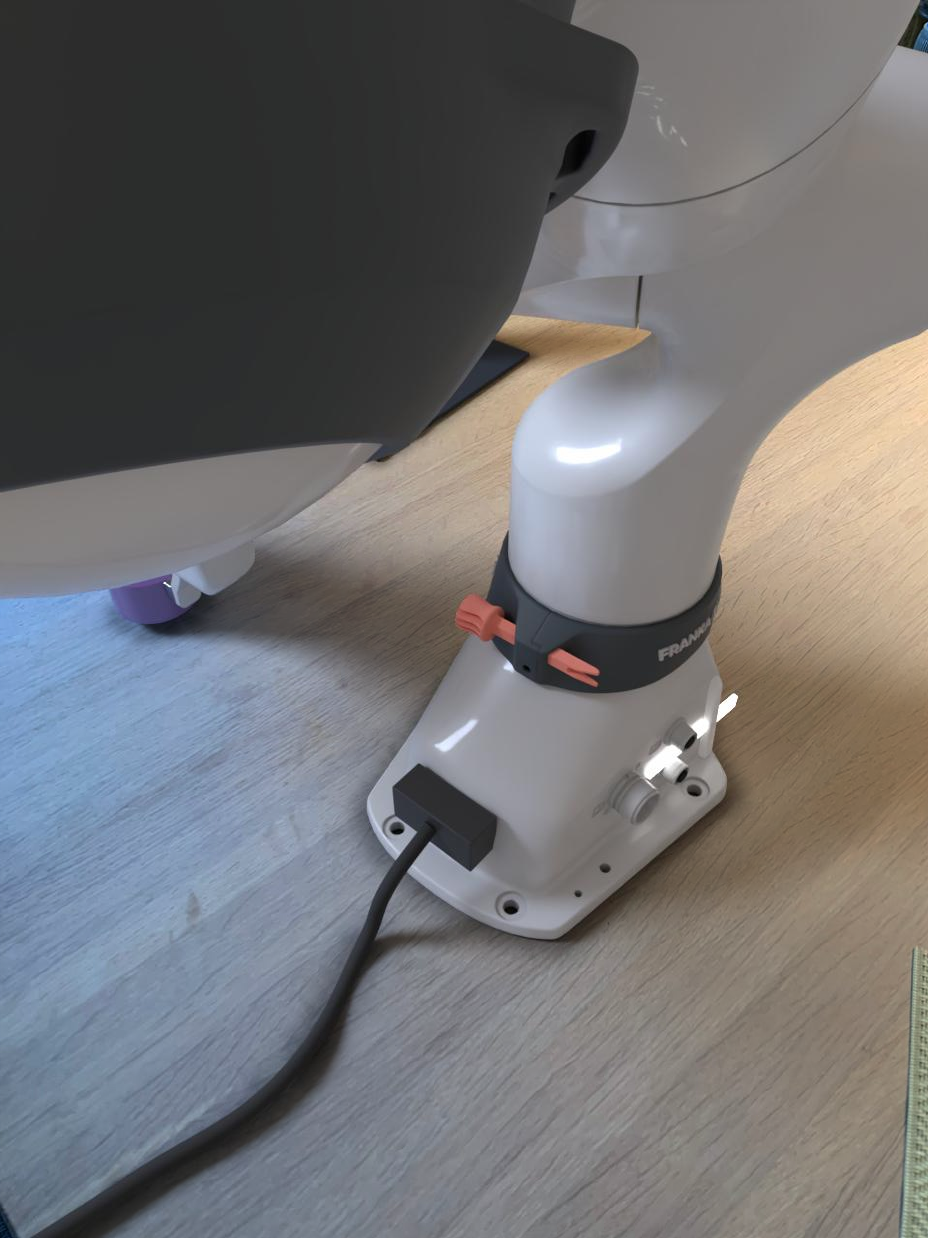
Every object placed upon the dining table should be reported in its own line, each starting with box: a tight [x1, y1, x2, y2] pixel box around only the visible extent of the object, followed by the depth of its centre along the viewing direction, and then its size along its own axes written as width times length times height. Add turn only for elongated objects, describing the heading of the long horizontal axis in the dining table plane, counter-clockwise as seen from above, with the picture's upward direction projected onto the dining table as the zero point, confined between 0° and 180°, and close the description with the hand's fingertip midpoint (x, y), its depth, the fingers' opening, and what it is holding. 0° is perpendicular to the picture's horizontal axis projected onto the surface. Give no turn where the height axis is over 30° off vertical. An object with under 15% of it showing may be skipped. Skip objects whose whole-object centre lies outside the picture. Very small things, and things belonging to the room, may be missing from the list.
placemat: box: [374, 338, 531, 462], centre depth 92 cm, size 22×13×1 cm, turn 142°
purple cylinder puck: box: [107, 574, 197, 625], centre depth 69 cm, size 6×6×4 cm
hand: (151, 577), depth 69 cm, fingers closed on purple cylinder puck, 6 cm apart
